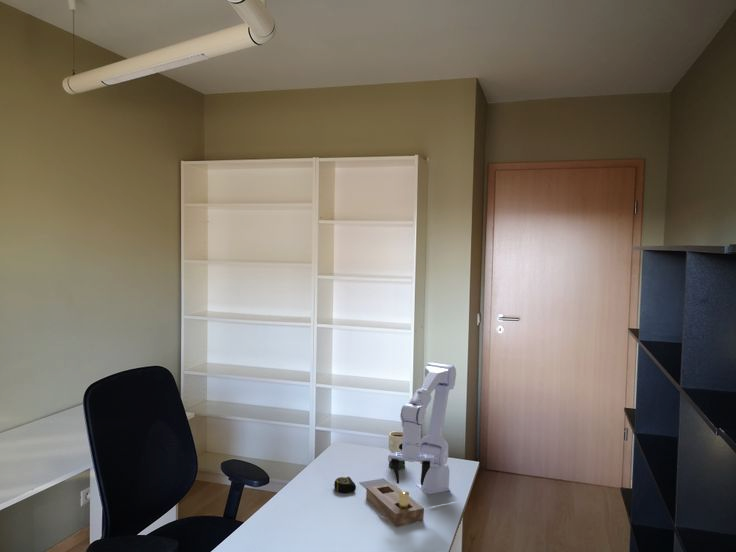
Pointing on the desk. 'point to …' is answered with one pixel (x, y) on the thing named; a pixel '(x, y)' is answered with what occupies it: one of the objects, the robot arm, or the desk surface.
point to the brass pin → (403, 500)
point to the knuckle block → (394, 505)
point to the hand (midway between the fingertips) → (409, 482)
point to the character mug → (396, 445)
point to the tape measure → (344, 485)
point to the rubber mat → (374, 483)
